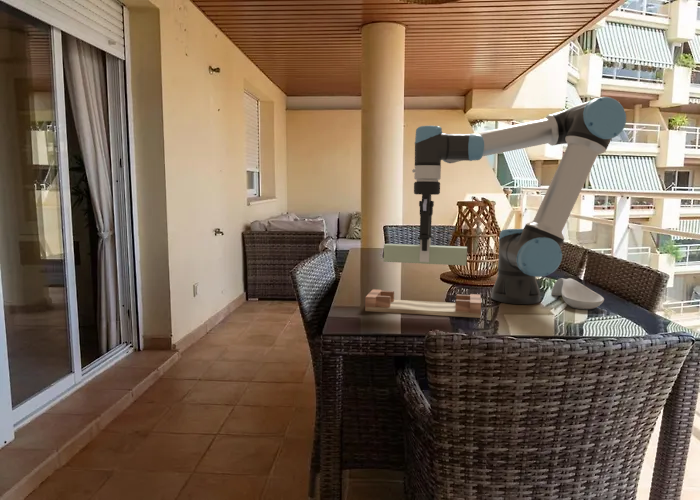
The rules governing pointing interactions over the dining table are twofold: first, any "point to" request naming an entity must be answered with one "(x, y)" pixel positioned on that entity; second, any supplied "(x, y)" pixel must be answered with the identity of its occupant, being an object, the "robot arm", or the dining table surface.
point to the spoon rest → (576, 294)
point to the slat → (436, 254)
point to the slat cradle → (423, 305)
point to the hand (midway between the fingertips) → (424, 260)
